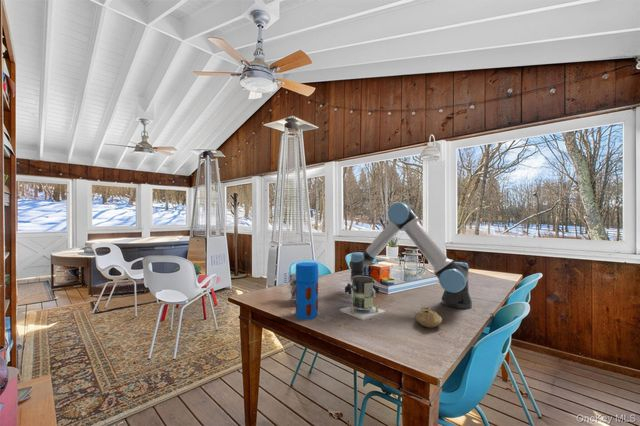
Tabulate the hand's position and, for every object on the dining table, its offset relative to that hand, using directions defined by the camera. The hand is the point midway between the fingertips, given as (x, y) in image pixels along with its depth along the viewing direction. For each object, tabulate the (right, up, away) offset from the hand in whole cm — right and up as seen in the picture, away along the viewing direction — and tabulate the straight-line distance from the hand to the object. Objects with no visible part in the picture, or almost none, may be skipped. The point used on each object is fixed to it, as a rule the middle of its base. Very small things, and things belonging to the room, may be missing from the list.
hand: (363, 294), depth 143 cm
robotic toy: (-33, -10, +21) cm, 41 cm away
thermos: (-28, -10, -1) cm, 29 cm away
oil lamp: (+27, -10, -12) cm, 31 cm away
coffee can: (0, -8, +4) cm, 9 cm away
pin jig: (0, -10, +4) cm, 11 cm away
